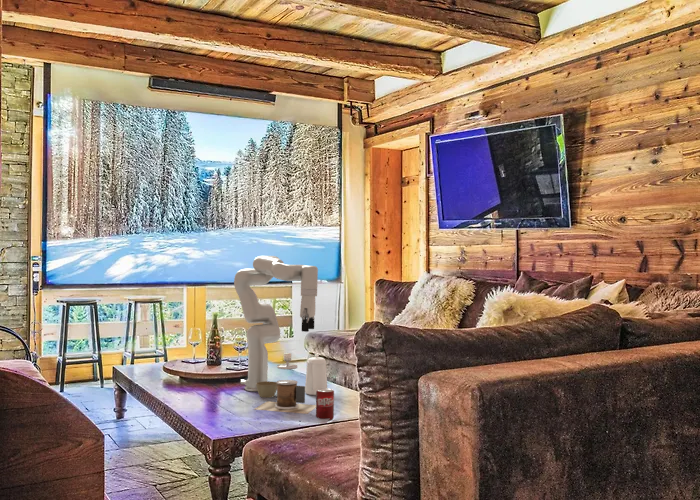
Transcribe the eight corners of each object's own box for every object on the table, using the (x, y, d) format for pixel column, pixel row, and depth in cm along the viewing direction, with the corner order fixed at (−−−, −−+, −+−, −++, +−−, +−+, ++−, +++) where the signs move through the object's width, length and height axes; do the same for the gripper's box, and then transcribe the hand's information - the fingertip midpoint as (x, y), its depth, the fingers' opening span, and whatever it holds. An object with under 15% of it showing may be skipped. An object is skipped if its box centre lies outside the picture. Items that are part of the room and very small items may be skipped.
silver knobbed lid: (274, 368, 281) (274, 354, 281) (281, 365, 289) (281, 351, 289) (293, 369, 279) (293, 355, 279) (300, 366, 287) (300, 352, 287)
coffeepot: (297, 398, 307) (298, 357, 307) (311, 387, 332) (312, 350, 332) (320, 399, 305) (321, 359, 305) (332, 389, 329) (333, 351, 329)
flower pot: (281, 397, 308) (281, 382, 308) (272, 401, 299) (272, 386, 299) (262, 395, 312) (262, 380, 312) (252, 400, 302) (252, 384, 302)
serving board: (253, 412, 279) (253, 409, 279) (267, 403, 294) (267, 401, 294) (307, 416, 273) (307, 413, 273) (318, 408, 289) (318, 405, 289)
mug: (271, 409, 280) (271, 383, 280) (279, 403, 290) (280, 379, 290) (300, 411, 277) (301, 385, 277) (307, 406, 287) (308, 380, 287)
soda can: (315, 417, 272) (316, 388, 273) (333, 417, 273) (333, 388, 273) (316, 421, 265) (316, 391, 265) (334, 421, 266) (334, 391, 266)
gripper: (306, 291, 312) (305, 327, 312) (295, 293, 295) (294, 332, 295) (321, 292, 310) (320, 328, 310) (312, 294, 293) (311, 332, 293)
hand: (307, 330), depth 302 cm, fingers open, 9 cm apart
